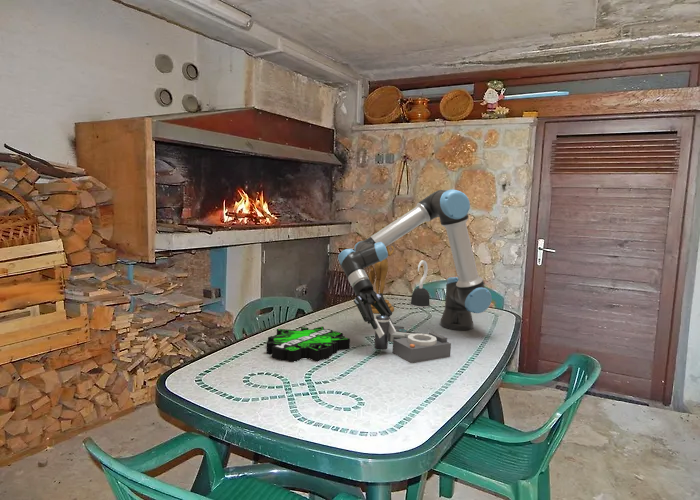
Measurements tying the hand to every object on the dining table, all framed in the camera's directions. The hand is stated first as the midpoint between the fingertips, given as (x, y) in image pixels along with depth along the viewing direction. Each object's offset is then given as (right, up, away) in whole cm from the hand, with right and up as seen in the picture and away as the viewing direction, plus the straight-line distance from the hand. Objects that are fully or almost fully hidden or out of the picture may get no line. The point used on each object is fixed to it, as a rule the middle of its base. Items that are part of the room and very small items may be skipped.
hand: (387, 334), depth 175 cm
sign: (-32, -6, +6) cm, 33 cm away
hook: (+25, +1, +84) cm, 87 cm away
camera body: (+13, -8, +3) cm, 15 cm away
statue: (+1, 0, +70) cm, 70 cm away
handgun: (+12, -6, +22) cm, 25 cm away
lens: (-2, -6, +3) cm, 7 cm away
